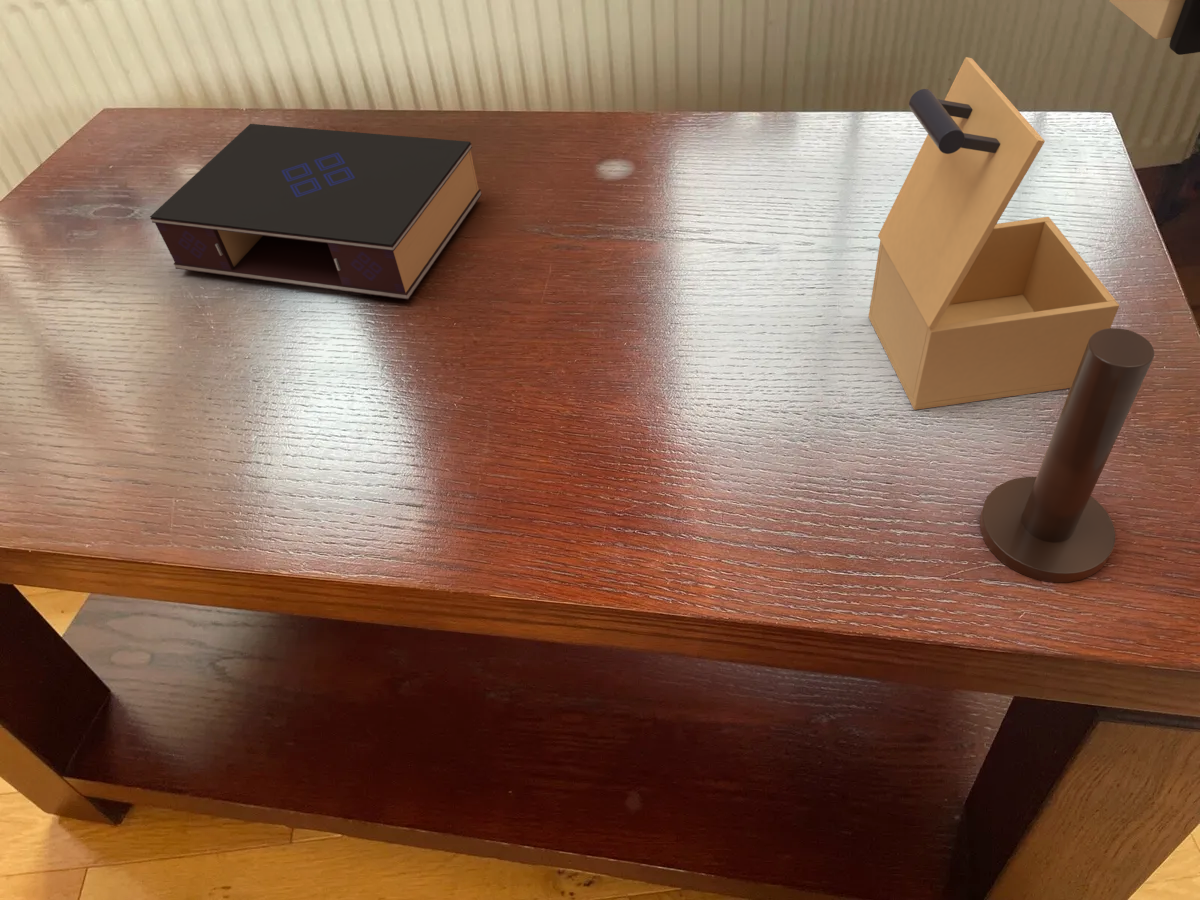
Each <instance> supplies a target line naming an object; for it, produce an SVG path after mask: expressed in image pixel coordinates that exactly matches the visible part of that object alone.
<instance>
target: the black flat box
mask: <svg viewBox="0 0 1200 900" xmlns="http://www.w3.org/2000/svg"><path fill="white" fill-rule="evenodd" d="M472 148H473V146H472V143H471V141H468V140H467V141H466V140H454V139H442V138H431V137H430V138H429V137H420V136H419V137H418V136H406V135H394V134H382V133H381V134H380V133H368V132H357V131H347V130H346V131H343V130H332V129H319V128H310V127H309V128H307V127H296V126H283V125H270V124H260V123H249V124H248V125H247V126H246V127H245V128H244V129H243V130H242V131H241V132H239V134H237V135H236V136H235V137H234V138H233V139H232V140H231V141H230V142H229V143H227V144H226V145H225V146H224V147H223V148H222V149H221V150H220V151H219V152H218V153H217V154H216V155H215V156H213V157H212V158H211V160H209V161H208V162H207V163H206V164H205V165H204V166H203V167H202V168H201V169H199V170H198V171H197V172H196V173H195V174H194V175H193V176H192V177H191V178H190V179H189V180H188V181H186V183H184V185H182V186H181V187H180V188H179V189H178V190H177V191H175V193H174V194H172V196H170V197H169V198H168V199H167V200H166V201H165V202H164V203H163V204H162V205H161V206H159V207H158V208H157V209H156V210H155V211H154V212H153V213H151V215H150V216H149V220H151V223H152V224H155V226H156V228H157V230H158V232H159V234H160V236H161V238H162V240H163V242H164V244H165V246H166V248H167V249H168V251H169V254H170V255H171V258H172V260H173V261H174V262H173V265H174V267H175V269H176V270H184V271H189V272H190V271H191V272H198V273H206V274H212V275H213V274H214V275H220V276H228V277H236V278H242V279H243V278H244V279H250V280H258V281H265V282H274V283H281V284H289V285H295V286H302V287H310V288H318V289H324V290H333V291H341V292H349V293H356V294H364V295H371V296H377V297H385V298H392V299H399V300H410V298H411V296H412V295H413V293H414V292H415V291H416V289H417V288H418V286H419V285H420V283H422V281H423V280H424V278H425V276H426V275H427V273H428V272H429V270H430V269H431V268H432V267H433V265H434V263H435V262H436V261H437V259H438V258H439V257H440V255H441V254H442V253H443V251H444V249H445V248H446V246H447V245H448V244H449V242H450V241H451V239H452V238H453V236H454V235H455V233H456V232H457V231H458V229H459V228H460V226H461V225H462V223H463V222H464V221H465V219H466V218H467V216H468V215H469V213H470V212H471V211H472V209H473V208H474V206H476V204H477V202H478V201H479V199H480V197H481V196H482V189H479V185H478V179H477V173H476V171H475V165H474V161H473V155H472V151H471V149H472Z"/></svg>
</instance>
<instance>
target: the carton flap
mask: <svg viewBox="0 0 1200 900" xmlns="http://www.w3.org/2000/svg"><path fill="white" fill-rule="evenodd" d="M908 107H909V109H910V111H911V112H912V113H913V115H914V117H915V118H916V119H917V121H918V122H919V123H920V125H921V127H923V129H924V130H925V132H926V134H927V135H926V137H925V138H924V141H923V143H922V145H921V147H920V149H919V151H918V153H917V155H916V157H915V159H914V161H913V163H912V165H911V167H910V170H909V172H908V173H907V175H906V177H905V179H904V182H903V184H902V186H901V188H900V190H899V191H898V194H897V195H896V198H895V200H894V202H893V203H892V206H891V208H890V209H889V212H888V215H887V217H886V218H885V220H884V223H883V225H882V227H881V228H880V230H879V232H878V235H877V237H878V239H879V242H880V241H881V242H882V244H883V246H884V248H885V250H886V251H887V253H888V255H889V257H890V259H891V260H892V262H893V264H894V266H895V268H896V269H897V271H898V273H899V275H900V277H901V278H902V280H903V282H904V284H905V286H906V287H907V289H908V291H909V293H910V295H911V296H912V298H913V300H914V302H915V304H916V305H917V307H918V309H919V311H920V313H921V314H922V316H923V318H924V320H925V322H926V323H927V325H928V327H929V328H936V326H937V324H938V322H939V321H940V319H941V317H942V316H943V314H944V312H945V311H946V309H947V307H948V305H949V304H950V302H951V300H952V299H953V297H954V295H955V294H956V292H957V290H958V288H959V287H960V285H961V283H962V282H963V280H964V278H965V277H966V275H967V273H968V271H969V270H970V268H971V266H972V265H973V263H974V261H975V260H976V258H977V256H978V254H979V253H980V251H981V249H982V248H983V246H984V244H985V243H986V241H987V239H988V237H989V236H990V234H991V232H992V231H993V229H994V227H995V226H996V224H998V222H999V221H1000V219H1001V217H1002V215H1003V214H1004V212H1005V211H1006V209H1007V207H1008V206H1009V203H1010V202H1011V200H1012V198H1013V197H1014V195H1015V193H1016V192H1017V190H1018V189H1019V186H1020V185H1021V183H1022V181H1023V180H1024V178H1025V177H1026V175H1027V172H1029V169H1030V168H1031V166H1032V164H1033V163H1034V161H1035V159H1036V158H1037V156H1038V155H1039V153H1040V151H1041V149H1042V147H1043V146H1044V144H1045V142H1046V141H1045V139H1044V138H1043V137H1042V136H1041V135H1040V134H1039V133H1038V131H1037V130H1036V129H1035V128H1034V127H1033V126H1032V125H1031V124H1030V122H1029V121H1028V120H1027V119H1026V118H1025V116H1024V115H1023V114H1022V113H1021V112H1020V111H1019V110H1018V109H1017V107H1015V105H1014V104H1013V103H1012V102H1011V101H1010V100H1009V98H1008V97H1006V95H1005V94H1004V92H1002V91H1001V89H1000V88H999V87H998V86H997V85H996V84H995V82H994V81H992V79H991V78H990V77H989V76H988V74H987V73H986V72H985V71H984V70H983V69H982V68H981V67H980V65H978V63H977V62H976V61H975V60H974V58H972V57H967V56H965V57H964V59H963V62H962V64H961V66H960V67H959V70H958V72H957V73H956V76H955V78H954V80H953V82H952V84H951V86H950V88H949V90H948V92H947V94H946V96H945V98H944V99H939V98H937V97H936V95H935V94H934V93H933V92H932V91H931V90H930V89H929V88H922V89H919V90H917V91H915V92H914V93H913V94H912V95H911V97H910V98H909V101H908Z"/></svg>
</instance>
